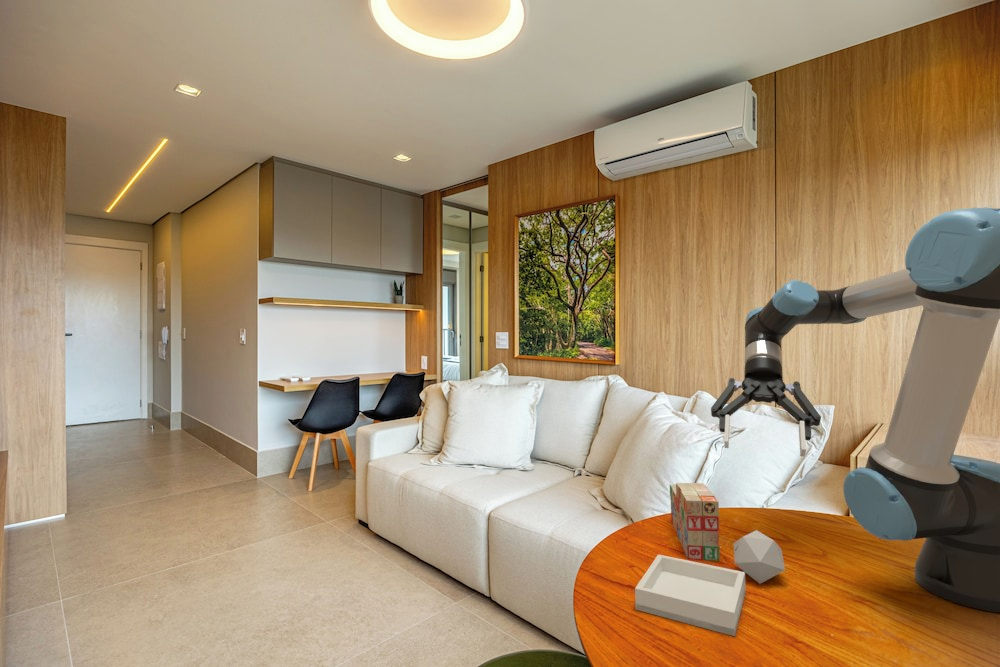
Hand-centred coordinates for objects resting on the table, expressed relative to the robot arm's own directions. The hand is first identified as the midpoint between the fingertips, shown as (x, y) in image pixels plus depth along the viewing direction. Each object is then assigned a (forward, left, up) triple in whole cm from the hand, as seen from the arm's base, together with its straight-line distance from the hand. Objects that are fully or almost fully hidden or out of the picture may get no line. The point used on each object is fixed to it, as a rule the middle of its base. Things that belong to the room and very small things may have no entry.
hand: (763, 448), depth 100 cm
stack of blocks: (+15, -4, -23) cm, 27 cm away
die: (+1, +8, -23) cm, 24 cm away
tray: (+10, +23, -22) cm, 34 cm away
